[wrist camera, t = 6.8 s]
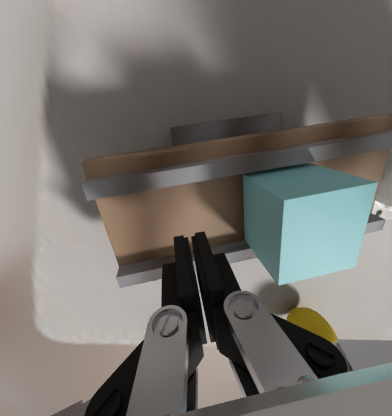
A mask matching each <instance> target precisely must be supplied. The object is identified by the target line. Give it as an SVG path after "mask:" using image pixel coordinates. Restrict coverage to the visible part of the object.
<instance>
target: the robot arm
mask: <svg viewBox="0 0 392 416" xmlns="http://www.w3.org/2000/svg"><path fill="white" fill-rule="evenodd" d="M372 214H374V215H377V216H379V217H381V218H383V219H386V220H392V148H390V149H389V153H388V156H387V160H386V164H385V167H384V171H383V174H382V178H381V182H380V185H379V189H378V193H377V196H376V200H375V203H374V207H373V211H372ZM191 239H192V246H193V252H194V258H195V265H196V271H197V277H198V282H199V287H200V292H201V297H202V302H203V307H204V311H205V316H206V321H207V326H208V331H209V335H210V340H211V342H215V341H216V345H217V350H219V352H220V353H221V354H223V355H224V356H226V357H227V358H229V362H230V365H231V368H232V370H233V372H234V375H235V377H236V379H237V382H238V384H239V387H240V389H241V392H242V394H243V396H244V398H240V399H237V400H233V401H229V402H225V403H221V404H217V405H213V406H209V407H205V408H201V409H198V369H197V366H198V365H199V363H200V361H201V360H202V358H203V356H204V354H203V347H202V344H206V343H207V340H206V334H205V327H204V321H203V315H202V308H201V302H200V296H199V290H198V285H197V280H196V275H195V270H194V265H193V260H192V255H191V250H190V245H189V240H188V237H185V238H184V235H181V236H175V237H174V251H175V262H172V263H166V264H163V265H162V307H161V308H160V309H158V310H157V311H156V312H154V313H153V315H152V316H151V317H150V320H149V322H148V325H147V330H146V334H145V338H144V340H143V341H142V342H141V343H140V344H139V345H138V346H137V347H136V349H135V350H134V351H133V352H132V353H131V354H130V355H129V356H128V357H127V358H126V360H125V361H124V362H123V363H122V364H121V365H120V366H119V367H118V368H117V369H116V371H115V372H114V373H113V374H112V375H111V376H110V378H108V379H107V381H106V382H105V383H104V384H103V385H102V386H101V387H100V388H99V389H98V390H97V392H96V393H95V394H94V396H93V397H92V398H91V399H90V400H88V401H87V402H85V403H84V402H83V401H82V400H81V401H79V402H77V403H75V404H73V405H71V406H69V407H67V408H65V409H63V410H61V411H59V412H57V413H55V414H53V415H51V416H392V341H382V340H339V339H337V342H330V341H328V340H326V339H325V338H323V337H321V336H319V335H317V334H314V333H312V332H310V331H308V330H306V329H304V328H302V327H299V326H297V325H295V324H293V323H291V322H289V321H286V320H284V319H282V318H280V317H278V316H276V315H274V314H271V313H270V312H269V311H268V310H267V308H266V307H265V306H264V304H263V303H262V301H261V300H260V299H259V298H258V297H257V296H256V295H254V294H253V293H251V292H248V291H241V289H240V287H239V285H238V282H237V280H236V278H235V276H234V273H233V271H232V269H231V267H230V264H229V262H228V260H227V258H226V255H225V254H224V253H219V254H213V253H212V250H211V248H210V245H209V242H208V239H207V236H206V234H205V231H203V232H197V233H195V236H191Z"/></svg>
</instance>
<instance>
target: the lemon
mask: <svg viewBox="0 0 392 416" xmlns="http://www.w3.org/2000/svg"><path fill="white" fill-rule="evenodd" d="M286 321H289V322H291V323H293V324H295V325H297V326H299V327H302V328H304V329H306V330H308V331H310V332H312V333H314V334H317V335H319V336H321V337H323V338H325V339H326V340H328V341H330V342H337V339H338V338H337V336H336V334H335V332H334V331H333V329H332V327H331V326H330V325H329V323H328V322H327V321H326V320H325V319H324V318H323V317H322V316H321V315H320V314H319V313H317V312H316V311H314V310H312V309H309V308H304V307H300V308H292V309H291V312H290V313H289V315H288V317H287V320H286Z"/></svg>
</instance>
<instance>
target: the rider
mask: <svg viewBox="0 0 392 416" xmlns="http://www.w3.org/2000/svg"><path fill="white" fill-rule="evenodd" d="M377 185H378V182H375V181H372V180H368V179H365V178H361V177H358V176H354V175H351V174H347V173H344V172H340V171H337V170H333V169H330V168H326V167H323V166H319V165H316V164H312V163H305V164H299V165H293V166H287V167H281V168H276V169H270V170H264V171H258V172H252V173H247V174H243V196H244V238H245V241H246V242H247V243H248V245H249V246H250V248H251V249H252V250H253V252H254V253H255V254H256V256H257V257H258V259H259V260H260V261H261V263H262V264H263V265H264V267H265V268H266V270H267V271H268V272H269V274H270V275H271V276H272V278H273V279H274V280H275V282H276V283H277V285H278V286H279V285H283V284H288V283H292V282H296V281H300V280H304V279H308V278H313V277H317V276H321V275H325V274H329V273H333V272H337V271H342V270H346V269H350V268H354V267H355V266H356V262H357V259H358V255H359V251H360V248H361V244H362V240H363V237H364V233H365V229H366V226H367V222H368V218H369V215H370V211H371V207H372V204H373V200H374V196H375V192H376V189H377Z"/></svg>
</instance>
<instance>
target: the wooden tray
mask: <svg viewBox="0 0 392 416" xmlns="http://www.w3.org/2000/svg"><path fill="white" fill-rule="evenodd" d="M281 121H282V113H272V114H265V115H258V116H251V117H244V118H237V119H230V120H222V121H215V122H208V123H201V124H194V125H187V126H180V127H173V128H171V129H172V135H173V141H174V146H171V147H164V148H157V149H151V150H144V151H138V152H131V153H124V154H118V155H111V156H104V157H98V158H91V159H88V160H86V161H85V162H83V163H82V165H83V168H84V171H85V173H86V176H87V180H86V181H85V182H84V183H83V184H81V186H82V189H83V191H84V194H85V196H86V199H87V201H89V200H95V201H96V204H97V207H98V209H99V212H100V215H101V218H102V220H103V223H104V226H105V229H106V231H107V234H108V237H109V240H110V242H111V245H112V248H113V251H114V253H115V256H116V259H117V262H118V265H119V269H118V273H117V277H116V278H117V280H118V283H119V286H120V288H122V287H126V286H131V285H135V284H140V283H144V282H149V281H153V280H158V279H162V265H163V264H166V263H172V262H175V251H174V237H175V236H181V235H184V238H185V237H188V240H189V245H190V250H191V255H192V260H193V265H194V270H195V271H196V265H195V258H194V252H193V246H192V239H191V236H195V233H197V232H203V231H205V234H206V236H207V239H208V242H209V245H210V248H211V250H212V253H213V254H219V253H224V254H225V255H226V258H227V260H228V262H229V264H230V263H235V262H239V261H244V260H248V259H253V258H257V256H256V254H255V253H254V252H253V250H252V249H251V248H250V246H249V245H248V243H247V242H246V241H245V238H244V196H243V174H247V173H252V172H258V171H264V170H270V169H276V168H281V167H287V166H293V165H299V164H305V163H312V164H316V165H319V166H323V167H326V168H330V169H333V170H337V171H340V172H344V173H347V174H351V175H354V176H358V177H361V178H365V179H368V180H372V181H375V182H378V185H377V189H376V192H375V196H374V200H373V204H372V207H371V211H370V215H369V218H368V222H367V226H366V229H365V233H370V232H374V231H379V230H382V229H383V226H384V223H385V220H386V219H383V218H381V217H379V216H377V215H374V214H372V211H373V207H374V203H375V200H376V196H377V193H378V189H379V185H380V182H381V178H382V174H383V171H384V167H385V164H386V160H387V156H388V153H389V149H390V148H392V115H376V116H369V117H363V118H356V119H350V120H343V121H336V122H330V123H323V124H316V125H310V126H303V127H297V128H290V129H283V130H281ZM365 233H364V234H365Z"/></svg>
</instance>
